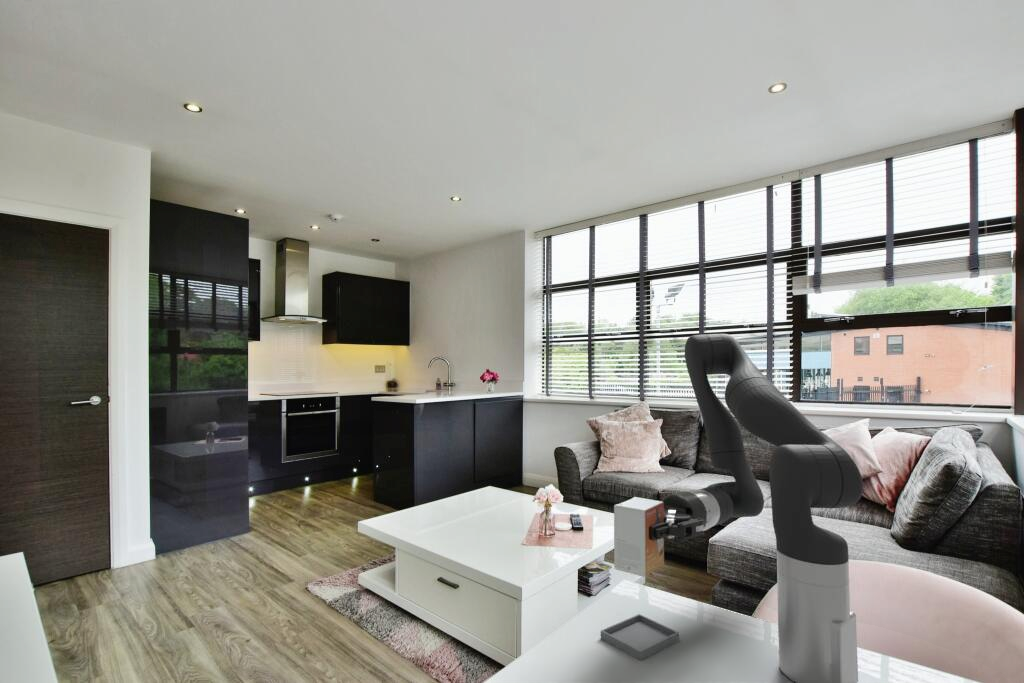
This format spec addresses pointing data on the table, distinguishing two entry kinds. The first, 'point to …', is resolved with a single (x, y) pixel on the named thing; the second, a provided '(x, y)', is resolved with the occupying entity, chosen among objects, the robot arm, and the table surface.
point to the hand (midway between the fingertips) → (632, 528)
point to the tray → (640, 636)
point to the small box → (637, 536)
